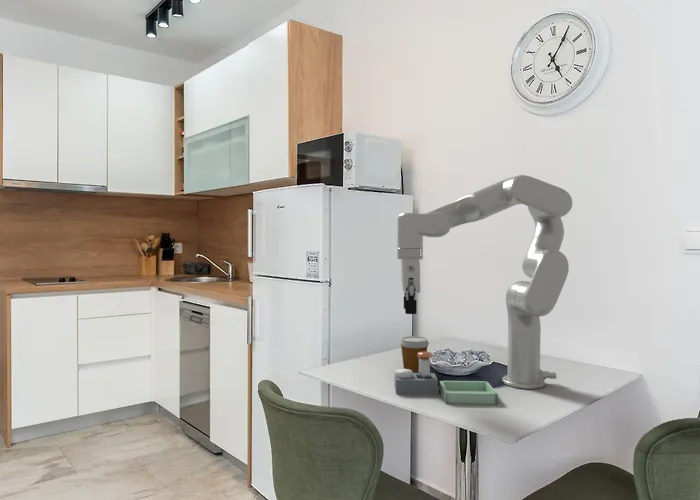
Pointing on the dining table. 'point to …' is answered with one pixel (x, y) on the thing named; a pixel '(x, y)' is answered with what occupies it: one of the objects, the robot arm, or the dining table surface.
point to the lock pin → (424, 365)
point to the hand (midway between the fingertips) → (409, 311)
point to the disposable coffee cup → (412, 351)
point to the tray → (468, 392)
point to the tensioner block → (414, 383)
